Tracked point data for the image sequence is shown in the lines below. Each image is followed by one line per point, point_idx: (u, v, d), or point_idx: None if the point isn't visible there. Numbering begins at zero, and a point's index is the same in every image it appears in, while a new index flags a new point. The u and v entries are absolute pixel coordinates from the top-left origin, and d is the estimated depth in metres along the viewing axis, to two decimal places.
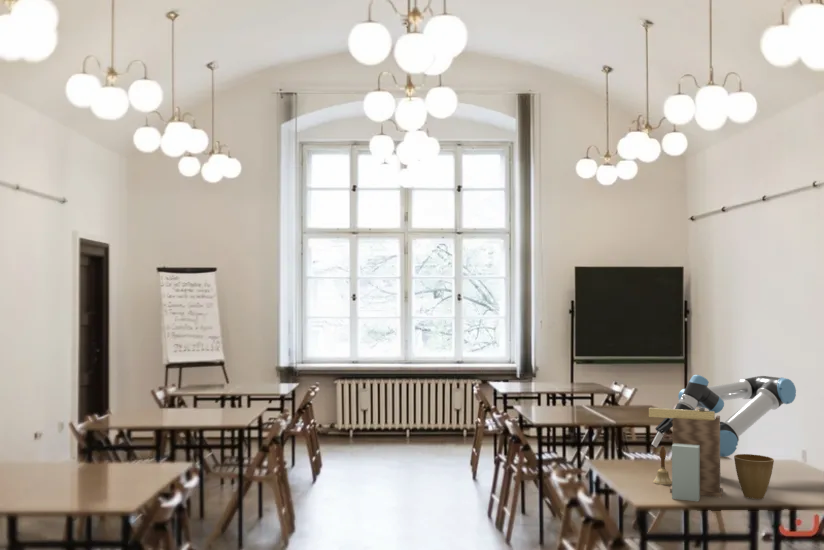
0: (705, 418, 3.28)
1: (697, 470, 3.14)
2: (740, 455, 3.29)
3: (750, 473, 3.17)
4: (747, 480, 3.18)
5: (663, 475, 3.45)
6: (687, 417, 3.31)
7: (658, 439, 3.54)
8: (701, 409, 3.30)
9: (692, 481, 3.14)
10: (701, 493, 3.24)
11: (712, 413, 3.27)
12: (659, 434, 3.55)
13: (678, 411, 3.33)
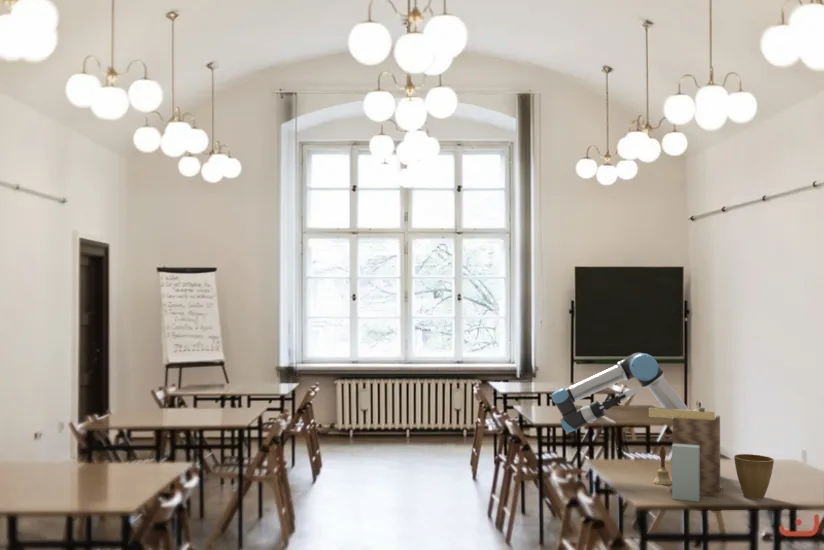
0: (705, 418, 3.28)
1: (697, 470, 3.14)
2: (740, 455, 3.29)
3: (750, 473, 3.17)
4: (747, 480, 3.18)
5: (663, 475, 3.45)
6: (687, 417, 3.31)
7: None
8: (701, 409, 3.30)
9: (692, 481, 3.14)
10: (701, 493, 3.24)
11: (712, 413, 3.27)
12: None
13: (678, 411, 3.33)
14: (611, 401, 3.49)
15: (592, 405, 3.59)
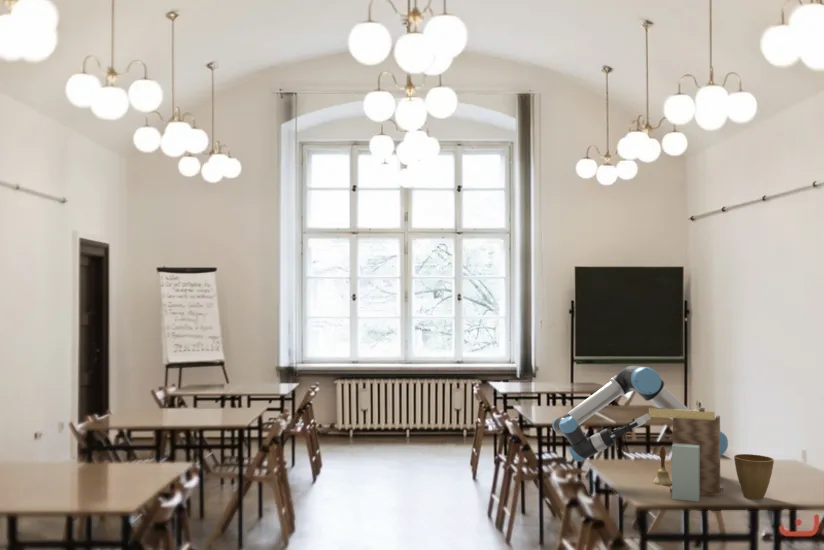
0: (705, 418, 3.28)
1: (697, 470, 3.14)
2: (740, 455, 3.29)
3: (750, 473, 3.17)
4: (747, 480, 3.18)
5: (663, 475, 3.45)
6: (687, 417, 3.31)
7: None
8: (701, 409, 3.30)
9: (692, 481, 3.14)
10: (701, 493, 3.24)
11: (712, 413, 3.27)
12: None
13: (678, 411, 3.33)
14: (622, 430, 3.34)
15: (602, 433, 3.44)
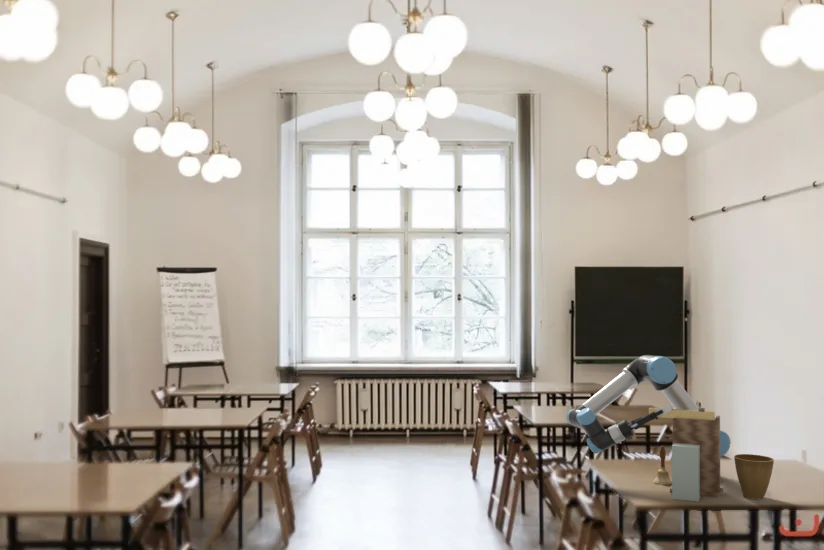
0: (705, 418, 3.28)
1: (697, 470, 3.14)
2: (740, 455, 3.29)
3: (750, 473, 3.17)
4: (747, 480, 3.18)
5: (663, 475, 3.45)
6: (687, 417, 3.31)
7: None
8: (701, 409, 3.30)
9: (692, 481, 3.14)
10: (701, 493, 3.24)
11: (712, 413, 3.27)
12: None
13: (678, 411, 3.33)
14: (648, 417, 3.34)
15: (621, 424, 3.41)
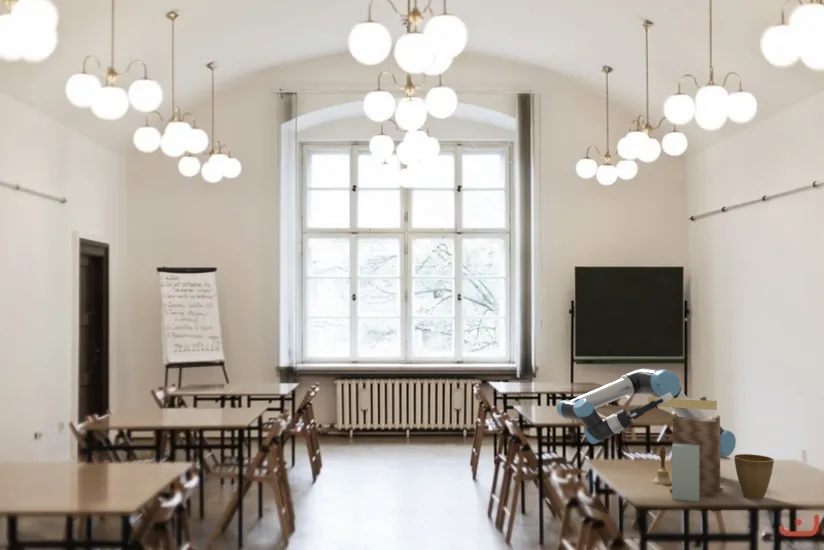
0: (707, 407, 3.15)
1: (697, 470, 3.14)
2: (740, 455, 3.29)
3: (750, 473, 3.17)
4: (747, 480, 3.18)
5: (663, 475, 3.45)
6: (689, 406, 3.18)
7: None
8: (703, 398, 3.16)
9: (692, 481, 3.14)
10: (701, 493, 3.24)
11: (714, 402, 3.14)
12: None
13: (679, 400, 3.20)
14: (647, 406, 3.21)
15: (619, 414, 3.28)
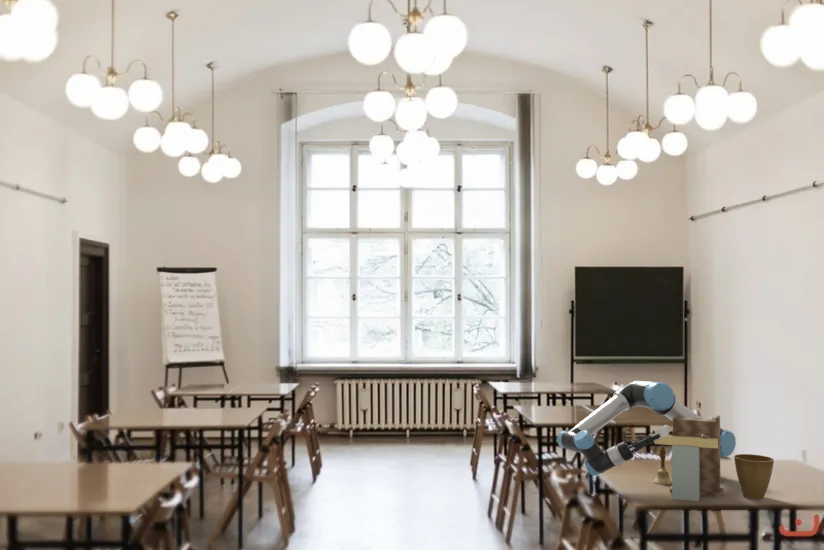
0: (708, 445, 3.14)
1: (697, 470, 3.14)
2: (740, 455, 3.29)
3: (750, 473, 3.17)
4: (747, 480, 3.18)
5: (663, 475, 3.45)
6: (689, 444, 3.17)
7: None
8: (704, 436, 3.16)
9: (692, 481, 3.14)
10: (701, 493, 3.24)
11: (715, 440, 3.13)
12: None
13: (680, 438, 3.19)
14: (644, 442, 3.18)
15: (620, 446, 3.27)
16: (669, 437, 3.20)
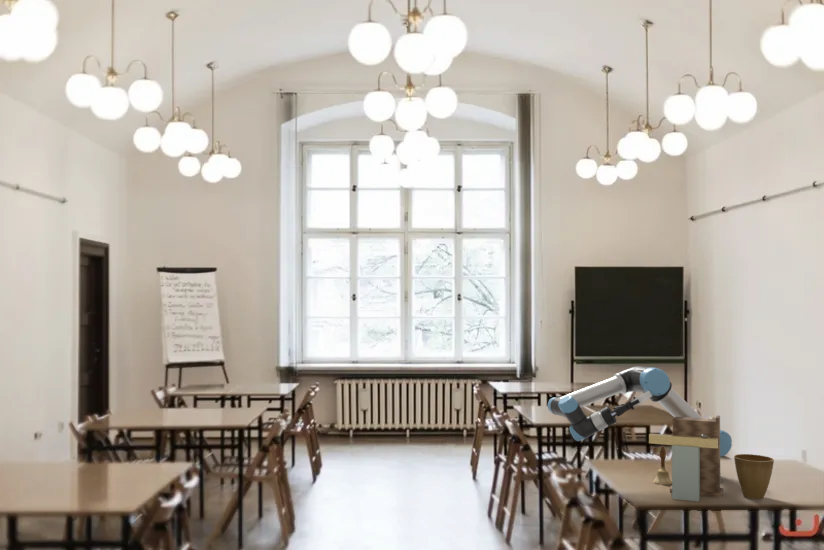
0: (708, 445, 3.14)
1: (697, 470, 3.14)
2: (740, 455, 3.29)
3: (750, 473, 3.17)
4: (747, 480, 3.18)
5: (663, 475, 3.45)
6: (689, 444, 3.17)
7: None
8: (704, 436, 3.16)
9: (692, 481, 3.14)
10: (701, 493, 3.24)
11: (715, 440, 3.13)
12: None
13: (680, 438, 3.19)
14: (624, 407, 3.27)
15: (603, 411, 3.36)
16: (669, 437, 3.20)
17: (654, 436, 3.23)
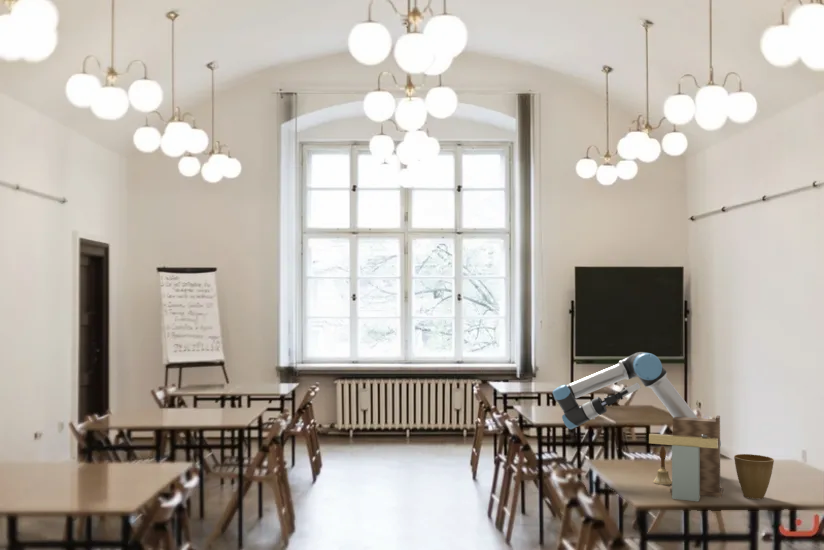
0: (708, 445, 3.14)
1: (697, 470, 3.14)
2: (740, 455, 3.29)
3: (750, 473, 3.17)
4: (747, 480, 3.18)
5: (663, 475, 3.45)
6: (689, 444, 3.17)
7: None
8: (704, 436, 3.16)
9: (692, 481, 3.14)
10: (701, 493, 3.24)
11: (715, 440, 3.13)
12: None
13: (680, 438, 3.19)
14: (613, 397, 3.46)
15: (594, 401, 3.56)
16: (669, 437, 3.20)
17: (654, 436, 3.23)
